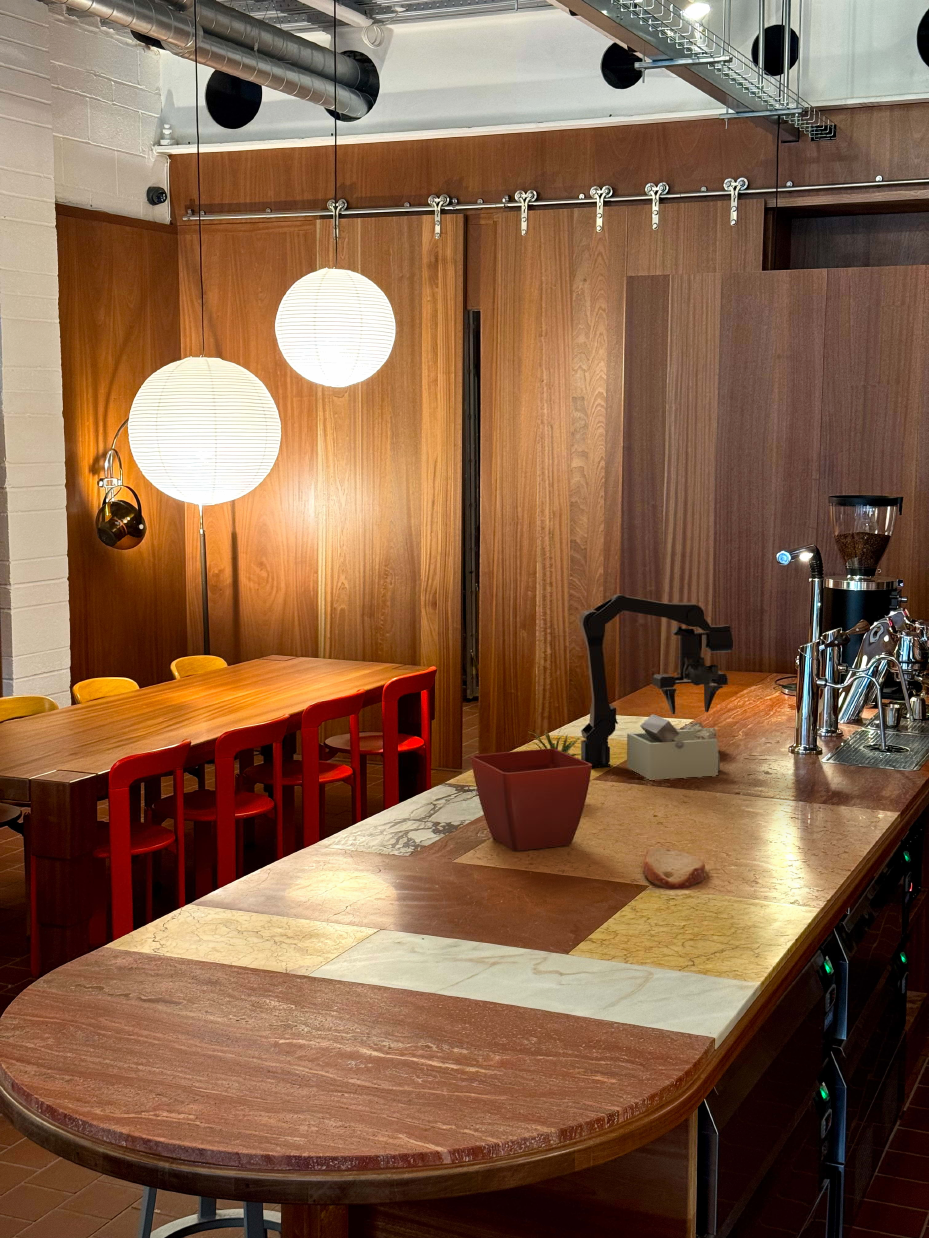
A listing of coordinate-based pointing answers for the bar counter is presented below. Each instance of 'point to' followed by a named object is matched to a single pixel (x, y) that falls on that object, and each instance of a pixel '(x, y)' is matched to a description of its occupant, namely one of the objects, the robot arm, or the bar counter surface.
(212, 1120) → the bar counter surface
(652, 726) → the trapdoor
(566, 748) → the house plant
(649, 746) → the pale green open box
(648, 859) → the bread slice
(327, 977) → the bar counter surface
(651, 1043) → the bar counter surface
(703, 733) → the geode
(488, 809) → the plant pot
